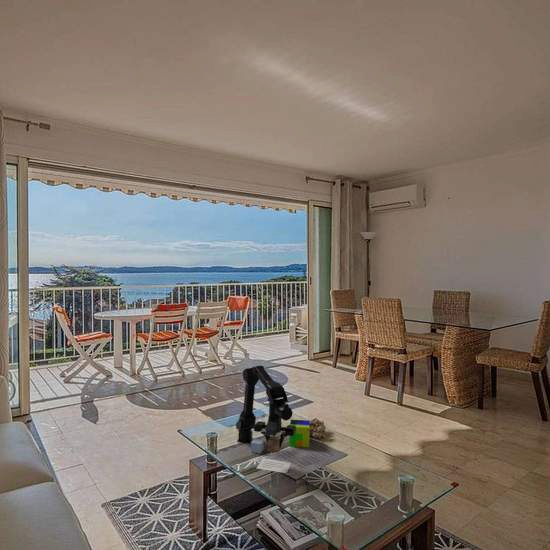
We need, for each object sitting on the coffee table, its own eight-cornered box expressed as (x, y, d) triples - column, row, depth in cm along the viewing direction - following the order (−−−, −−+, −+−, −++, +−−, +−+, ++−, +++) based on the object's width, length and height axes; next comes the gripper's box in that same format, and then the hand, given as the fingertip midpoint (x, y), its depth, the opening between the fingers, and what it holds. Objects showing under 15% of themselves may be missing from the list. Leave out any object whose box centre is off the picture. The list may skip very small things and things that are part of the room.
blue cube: (250, 452, 198) (251, 442, 198) (254, 448, 203) (254, 438, 203) (260, 454, 197) (260, 444, 197) (263, 449, 202) (263, 439, 202)
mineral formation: (298, 436, 219) (310, 425, 232) (320, 445, 212) (331, 434, 225) (300, 422, 217) (312, 412, 230) (322, 431, 211) (333, 420, 224)
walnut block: (267, 450, 183) (268, 440, 183) (270, 446, 188) (271, 435, 188) (278, 452, 182) (278, 441, 182) (281, 447, 187) (281, 437, 187)
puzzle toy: (309, 439, 215) (309, 420, 215) (309, 447, 205) (309, 427, 205) (290, 438, 216) (290, 419, 216) (289, 446, 206) (289, 426, 206)
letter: (256, 468, 182) (256, 468, 182) (262, 458, 192) (262, 458, 192) (286, 473, 179) (286, 473, 179) (291, 463, 188) (291, 462, 188)
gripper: (250, 416, 179) (249, 451, 180) (291, 421, 175) (290, 457, 175) (257, 408, 190) (257, 441, 190) (296, 413, 185) (296, 446, 186)
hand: (274, 447), depth 185 cm, fingers closed on walnut block, 5 cm apart
